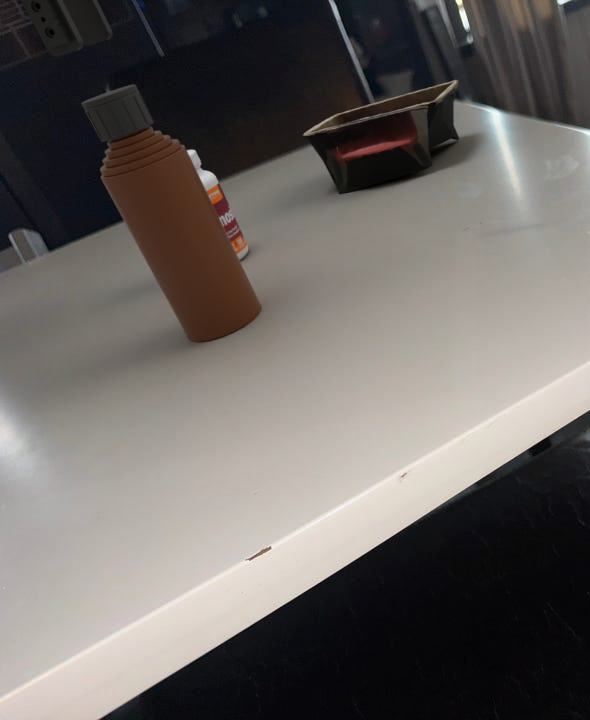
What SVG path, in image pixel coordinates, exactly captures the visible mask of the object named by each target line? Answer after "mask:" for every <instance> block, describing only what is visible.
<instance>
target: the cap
mask: <svg viewBox="0 0 590 720" xmlns="http://www.w3.org/2000/svg"><path fill="white" fill-rule="evenodd" d="M81 107H83V109H84V112H85V114H86V116H87V118H88V119H89V121H90V123H91V125H92V127H93V129H94V131H95V133H96V135H97V137H98V139H99V140H100V141H101V142H102V143H105V142H108V141H110V140H114V139H117V138H121V137H124V136H126V135H129V134H132V133H134V132H137V131H139V130H142V129H144V128H146V127H148V126H151V125H153V124H154V118H153V116H152V115H151V112H150V110H149V108H148V105H147V104H146V102H145V100H144V97H143V96H142V94H141V92H140V91H139V90H138V87H137V85H136V84H130V85H129V84H128V85H126V86H122V87H118V88H116V89H113V90H110V91H107V92H104V93H102V94H98V95H96V96H94V97H92V98H89V99H86V100H85V101H82V102H81Z"/></svg>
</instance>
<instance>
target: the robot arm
mask: <svg viewBox="0 0 590 720" xmlns="http://www.w3.org/2000/svg"><path fill="white" fill-rule="evenodd" d="M20 1H21V3H22V5H23V7H24V10H25V11H26V13H27V15H28V16H29V19H30V21H31V22H32V24H33V26H34V27H35V29H36V31H37V33H38V35H39V37H40V39H41V41H42V42H43V45H44V46H45V49H46V51H47V52H48V53H49V54H50V55H51V56H52V57H55V58H59V57H63V56H66V55H68V54H71V53H74V52H77V51H80V50H82V49H83V47H84V46H86V47H90V46H93V45H96V44H100V43H102V42H105V41H108V40H110V39H112V38H113V35H114V34H113V30H112V28H111V25H110V24H109V21H108V19H107V17H106V16H105V13H104V12H103V10H102V6H101V5H100V3H99V1H98V0H20Z"/></svg>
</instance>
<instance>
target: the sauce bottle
mask: <svg viewBox="0 0 590 720" xmlns="http://www.w3.org/2000/svg"><path fill="white" fill-rule="evenodd" d="M106 142H107V143H106V144H107V146H108V148H107V149H105V150H104V154H105V157H104V158H103V159H102V163H103V165H101V167H100V169H99V171H100V173H101V175H100V179H101V181H102V183H103V185H104V187H105V188H106V190H107V192H108V194H109V196H110V198H111V199H112V202H113V204H114V205H115V207H116V209H117V210H118V213H119V215H120V216H121V218H122V220H123V222H124V224H125V225H126V228H127V229H128V230H129V232H130V234H131V237H132V238H133V240H134V242H135V243H136V245H137V247H138V249H139V251H140V254H141V255H142V256H143V258H144V260H145V263H147V265H148V267H149V269H150V271H151V273H152V275H153V276H154V278H155V280H156V282H157V284H158V285H159V287H160V289H161V291H162V293H163V295H164V297H165V299H166V300H167V302H168V304H169V306H170V308H171V309H172V311H173V313H174V315H175V317H176V319H177V320H178V323H179V324H180V326H181V328H182V330H183V332H184V333H185V335H186V338H188V340H190V341H192V342H197V343H203V342H209V341H213V340H216V339H219V338H222V337H225V336H228V335H230V334H232V333H235V332H236V331H238V330H241V329H242V328H244V327H245V326H246V325H248V324H249V323H251V322H252V321H253V320H254V319H255V318H256V317H257V316H258V315H259V314H260V312H261V310H262V304H261V302H260V301H259V300H260V299H259V298H258V296H257V294H256V291H255V290H254V288H253V285H252V284H251V281H250V279H249V278H248V275H247V273H246V271H245V269H244V267H243V265H242V262H241V260H239V258H238V256H237V254H236V252H235V250H234V248H233V246H232V244H231V242H230V240H229V238H228V236H227V233H226V231H225V229H224V227H223V225H222V223H221V221H220V219H219V217H218V215H217V213H216V211H215V208H214V206H213V204H212V202H211V200H210V198H209V196H208V194H207V192H206V190H205V188H204V185H203V183H202V181H201V179H200V177H199V175H198V173H197V171H196V169H195V167H194V165H193V163H192V160H191V158H190V156H189V154H188V152H187V150H188V149H187V148H186V146H185V145H184V144H181V142H180V140H179V139H178V138H177V139H176V138H172V137H171V136H170V135H169V134H163V133H162V131H161V130H154V129H153V127H152V126H151V125H150V126H148V127H146V128H144V129H142V130H139V131H137V132H134V133H132V134H129V135H126V136H124V137H121V138H117V139H114V140H110V141H106Z"/></svg>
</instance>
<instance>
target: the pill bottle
mask: <svg viewBox="0 0 590 720" xmlns="http://www.w3.org/2000/svg"><path fill="white" fill-rule="evenodd" d="M186 150H187V152H188V154H189V156H190V158H191V160H192V163H193V165H194V167H195V169H196V171H197V173H198V175H199V177H200V179H201V181H202V183H203V185H204V188H205V190H206V192H207V194H208V196H209V198H210V200H211V202H212V204H213V206H214V208H215V211H216V213H217V215H218V217H219V219H220V221H221V223H222V225H223V227H224V229H225V231H226V233H227V236H228V238H229V240H230V242H231V244H232V246H233V248H234V250H235V252H236V254H237V256H238V258H239V261H241V260H242V259H244V258H245V256H246V255H247V254H248V252H249V246H248V243H247V241H246V238H245V237H244V234H243V232H242V230H241V228H240V226H239V223H238V222H237V218H236V216H235V214H234V212H233V210H232V208H231V206H230V203H229V202H228V199H227V197H226V195H225V193H224V191H223V189H222V186H221V184H220V182H219V180H218V178H217V176H216V175H215V174H214V173H213V172H211V171H209V170H204V169H203V168H201V165H202V162H201V159H200V157H199V155H198V153H197V151H196V149H186Z"/></svg>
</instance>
